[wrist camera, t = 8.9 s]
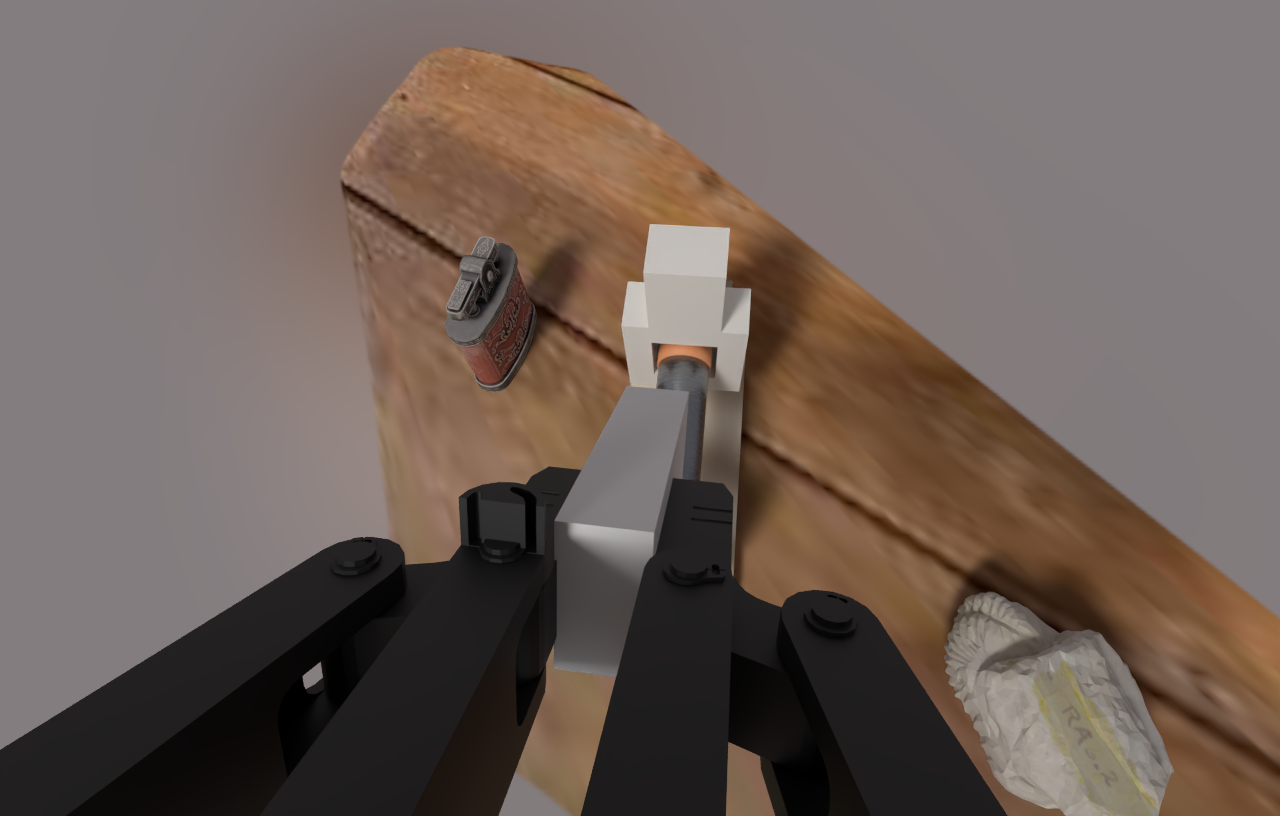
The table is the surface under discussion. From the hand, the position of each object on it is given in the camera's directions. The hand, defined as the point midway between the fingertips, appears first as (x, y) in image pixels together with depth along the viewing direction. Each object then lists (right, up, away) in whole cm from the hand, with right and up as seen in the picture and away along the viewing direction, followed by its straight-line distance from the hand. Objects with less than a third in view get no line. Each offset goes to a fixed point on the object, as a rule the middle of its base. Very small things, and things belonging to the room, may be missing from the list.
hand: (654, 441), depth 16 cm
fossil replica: (+22, -17, +23) cm, 36 cm away
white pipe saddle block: (+3, +3, +27) cm, 28 cm away
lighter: (-11, +6, +35) cm, 37 cm away
